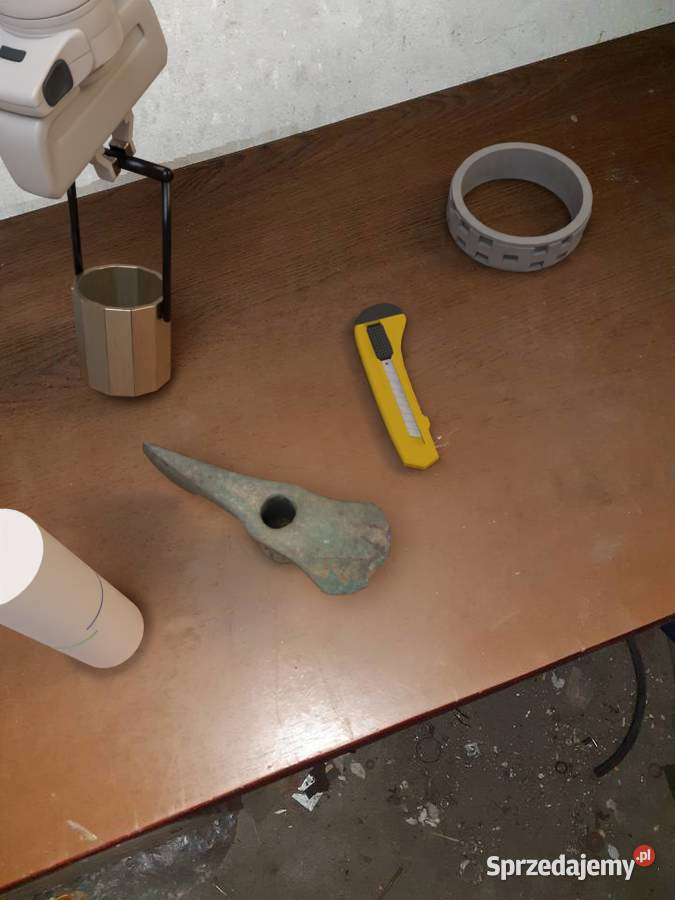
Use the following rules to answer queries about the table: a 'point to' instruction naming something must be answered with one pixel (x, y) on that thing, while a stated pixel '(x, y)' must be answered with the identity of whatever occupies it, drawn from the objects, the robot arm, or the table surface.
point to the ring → (524, 165)
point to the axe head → (291, 521)
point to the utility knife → (393, 384)
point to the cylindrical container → (62, 597)
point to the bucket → (124, 305)
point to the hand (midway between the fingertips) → (118, 166)
